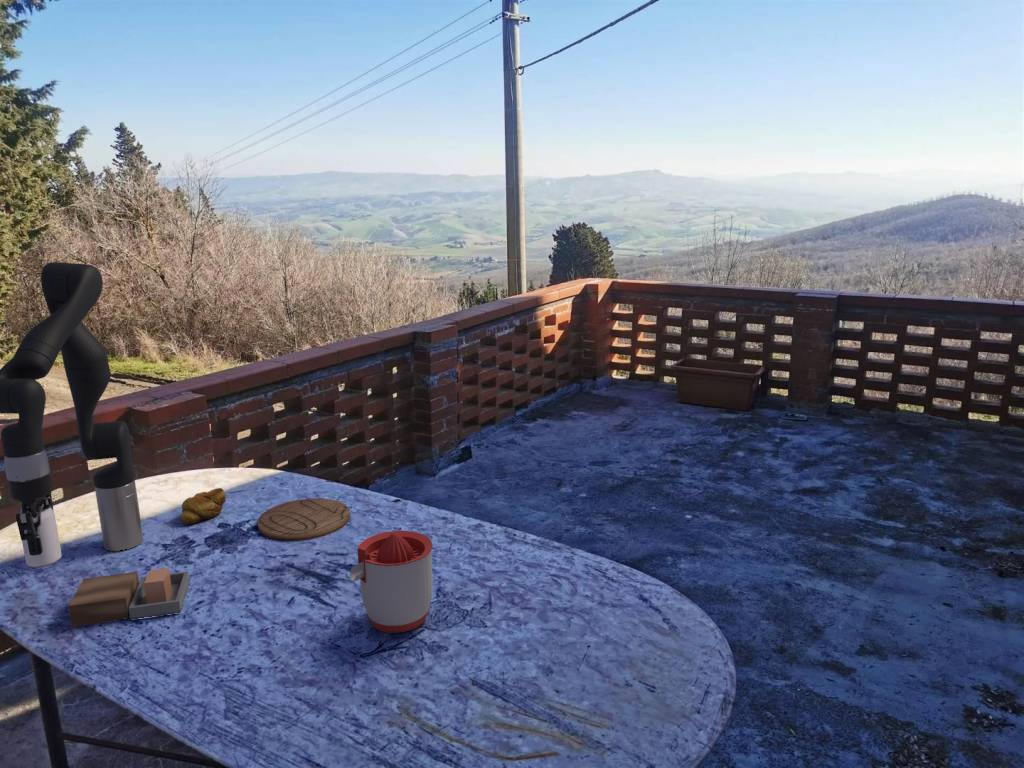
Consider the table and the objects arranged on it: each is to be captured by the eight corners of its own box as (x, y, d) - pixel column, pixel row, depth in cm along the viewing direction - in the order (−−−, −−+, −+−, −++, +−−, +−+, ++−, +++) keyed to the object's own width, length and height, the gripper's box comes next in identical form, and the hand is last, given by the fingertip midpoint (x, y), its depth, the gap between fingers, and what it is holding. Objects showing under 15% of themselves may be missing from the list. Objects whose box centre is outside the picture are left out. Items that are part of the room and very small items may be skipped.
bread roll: (191, 529, 201) (187, 502, 199) (170, 521, 206) (167, 495, 204) (231, 513, 212) (228, 487, 210) (210, 506, 217) (207, 480, 215)
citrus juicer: (346, 611, 160) (340, 526, 155) (423, 594, 167) (420, 512, 162) (362, 649, 146) (355, 558, 141) (445, 629, 153) (442, 541, 148)
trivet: (311, 497, 223) (311, 491, 222) (368, 517, 209) (368, 511, 208) (239, 526, 203) (238, 520, 203) (297, 550, 189) (296, 543, 188)
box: (143, 588, 170) (141, 577, 169) (189, 582, 173) (188, 571, 172) (130, 621, 157) (128, 608, 156) (180, 613, 160) (179, 601, 159)
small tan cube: (149, 570, 165) (169, 567, 166) (153, 594, 167) (172, 591, 168) (143, 583, 160) (163, 580, 160) (147, 607, 161) (167, 605, 162)
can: (45, 569, 152) (35, 516, 150) (18, 566, 154) (8, 513, 151) (69, 555, 159) (60, 503, 156) (43, 552, 160) (34, 501, 157)
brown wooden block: (87, 598, 166) (83, 578, 165) (140, 591, 169) (137, 571, 168) (71, 627, 155) (68, 606, 154) (128, 618, 158) (125, 598, 157)
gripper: (20, 463, 157) (33, 535, 161) (-6, 487, 144) (9, 565, 148) (59, 459, 159) (71, 530, 163) (37, 483, 146) (51, 560, 150)
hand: (41, 546), depth 155 cm, fingers closed on can, 6 cm apart
